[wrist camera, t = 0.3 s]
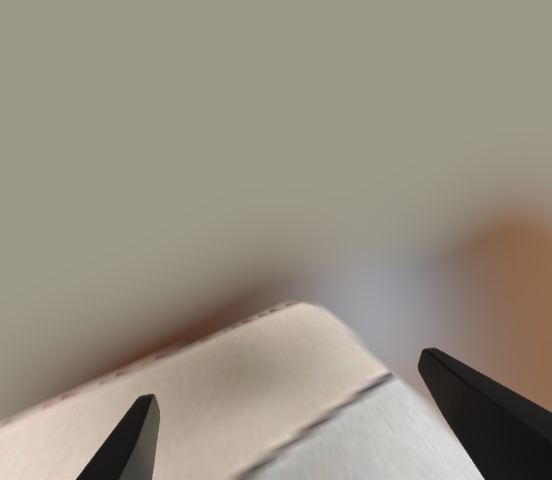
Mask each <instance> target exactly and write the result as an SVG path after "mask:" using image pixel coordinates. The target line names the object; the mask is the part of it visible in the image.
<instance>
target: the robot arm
mask: <svg viewBox="0 0 552 480" xmlns="http://www.w3.org/2000/svg"><path fill="white" fill-rule="evenodd" d="M418 370H419V373H420V375H421V376H422V378H423V380H424V382H425V384H426V386H427V387H428V389H429V391H430V393H431V395H432V397H433V398H434V400H435V402H436V404H437V406H438V407H439V409H440V411H441V413H442V415H443V416H444V418H445V420H446V421H447V423H448V424H449V426H450V428H451V429H452V431H453V432H454V434H455V435H456V437H457V438H458V440H459V441H460V443H461V444H462V446H463V447H464V449H465V450H466V452H467V453H468V455H469V456H470V458H471V459H472V461H473V463H474V464H475V466H476V467H477V469H478V470H479V472H480V473H481V475H482V476H483V478H484V479H485V480H552V412H550V411H548V410H546V409H544V408H542V407H541V406H539V405H537V404H535V403H534V402H532V401H530V400H528V399H526V398H525V397H523V396H521V395H519V394H517V393H516V392H514V391H512V390H510V389H509V388H507V387H505V386H503V385H501V384H500V383H498V382H496V381H494V380H492V379H491V378H489V377H487V376H485V375H483V374H481V373H480V372H478V371H476V370H474V369H473V368H471V367H469V366H467V365H465V364H464V363H462V362H460V361H458V360H456V359H455V358H453V357H451V356H449V355H448V354H446V353H444V352H442V351H440V350H439V349H437V348H427V349H423V350H422V352H421V356H420V359H419V363H418ZM159 422H160V410H159V407H158V403H157V400H156V396H155V395H154V394H148V395H142V396H140V397H139V398H137V400H136V401H135V402H134V404H133V405H132V406H131V408H130V409H129V410H128V412H127V413H126V414H125V415H124V417H123V418H122V419H121V421H120V422H119V423H118V425H117V426H116V427H115V429H114V430H113V431H112V433H111V434H110V435H109V437H108V438H107V439H106V441H105V442H104V443H103V444H102V446H101V447H100V448H99V450H98V451H97V452H96V454H95V455H94V456H93V458H92V459H91V460H90V462H89V463H88V464H87V466H86V467H85V468H84V470H83V471H82V472H81V473H80V475H79V476H78V477H77V479H76V480H152V475H153V468H154V461H155V453H156V445H157V438H158V430H159Z"/></svg>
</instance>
